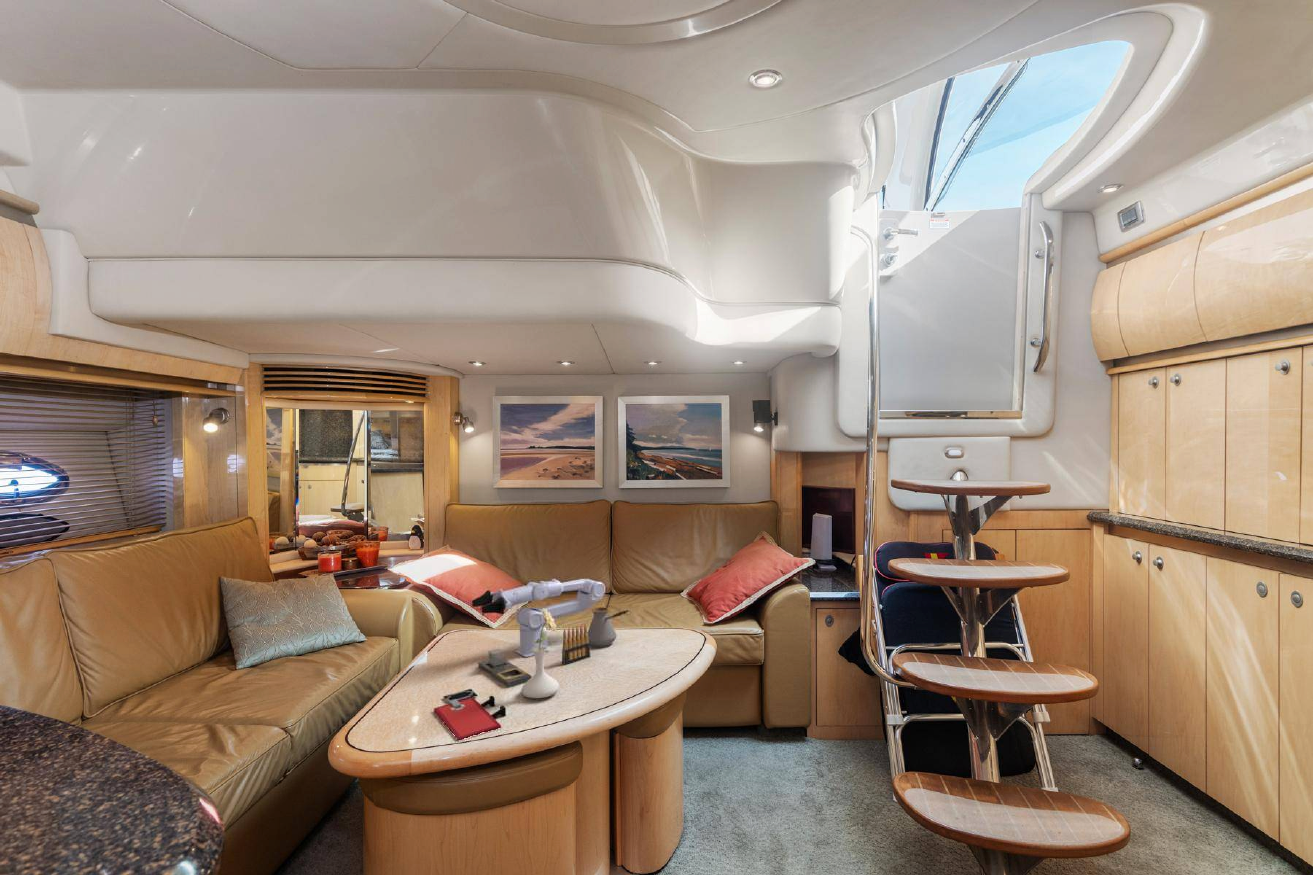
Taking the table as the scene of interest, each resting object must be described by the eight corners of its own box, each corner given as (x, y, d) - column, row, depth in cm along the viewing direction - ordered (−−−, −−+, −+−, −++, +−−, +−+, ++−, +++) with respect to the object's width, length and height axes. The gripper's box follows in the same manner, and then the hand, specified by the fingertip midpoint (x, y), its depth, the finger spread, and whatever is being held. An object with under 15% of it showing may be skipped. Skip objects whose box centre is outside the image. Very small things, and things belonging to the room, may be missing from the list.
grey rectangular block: (499, 666, 206) (499, 648, 206) (504, 669, 203) (504, 651, 203) (488, 669, 204) (488, 651, 204) (493, 672, 200) (492, 654, 201)
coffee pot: (579, 644, 225) (578, 604, 226) (602, 636, 234) (601, 598, 234) (619, 656, 211) (617, 614, 211) (641, 647, 219) (640, 606, 220)
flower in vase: (547, 704, 174) (544, 617, 174) (513, 699, 178) (511, 615, 178) (569, 686, 186) (566, 605, 186) (537, 682, 190) (534, 603, 190)
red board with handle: (476, 690, 186) (427, 704, 178) (476, 681, 186) (426, 694, 178) (514, 725, 162) (458, 744, 153) (514, 715, 162) (458, 733, 153)
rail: (500, 661, 210) (500, 656, 211) (531, 680, 192) (531, 675, 192) (478, 667, 206) (478, 662, 206) (508, 687, 187) (508, 682, 187)
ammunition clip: (587, 655, 213) (586, 622, 213) (590, 657, 212) (589, 623, 212) (561, 664, 206) (560, 629, 206) (565, 665, 204) (563, 630, 205)
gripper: (503, 581, 220) (468, 590, 211) (522, 591, 209) (485, 601, 200) (504, 599, 221) (468, 609, 212) (523, 611, 210) (486, 621, 201)
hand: (477, 606), depth 206 cm, fingers open, 7 cm apart
